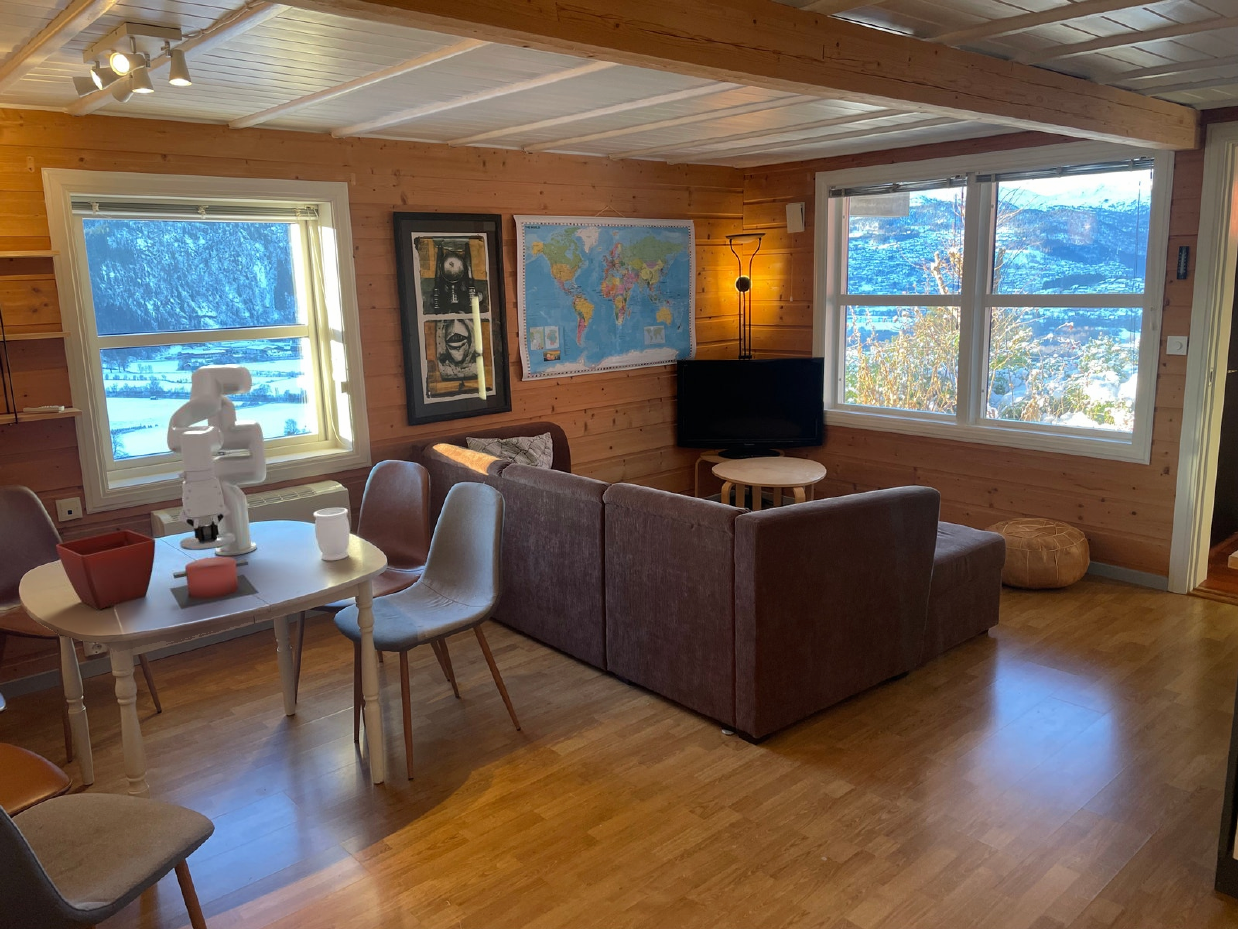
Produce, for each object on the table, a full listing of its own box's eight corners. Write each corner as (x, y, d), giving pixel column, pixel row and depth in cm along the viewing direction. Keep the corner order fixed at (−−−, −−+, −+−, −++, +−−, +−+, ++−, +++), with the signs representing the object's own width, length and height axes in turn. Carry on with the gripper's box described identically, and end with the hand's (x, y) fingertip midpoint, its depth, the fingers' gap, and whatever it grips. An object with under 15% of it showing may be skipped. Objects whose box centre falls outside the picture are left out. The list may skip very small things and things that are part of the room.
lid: (176, 541, 256) (174, 524, 255) (229, 532, 263) (227, 516, 262) (184, 553, 244) (182, 535, 243) (239, 544, 252) (237, 526, 251)
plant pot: (134, 583, 267) (126, 528, 263) (164, 596, 255) (156, 539, 251) (63, 602, 252) (54, 544, 249) (91, 617, 240) (82, 556, 237)
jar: (345, 562, 282) (341, 515, 279) (313, 562, 282) (308, 516, 279) (356, 551, 292) (352, 506, 289) (324, 552, 293) (320, 507, 289)
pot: (173, 591, 257) (169, 564, 255) (244, 577, 267) (241, 552, 266) (180, 604, 246) (177, 576, 245) (254, 589, 257) (251, 562, 255)
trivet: (170, 590, 260) (169, 588, 259) (243, 576, 270) (243, 574, 270) (181, 610, 243) (181, 608, 243) (259, 594, 254) (258, 592, 254)
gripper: (168, 482, 242) (177, 547, 246) (233, 473, 251) (241, 537, 255) (164, 477, 248) (173, 541, 252) (228, 469, 257) (235, 531, 261)
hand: (207, 538), depth 254 cm, fingers closed on lid, 3 cm apart
